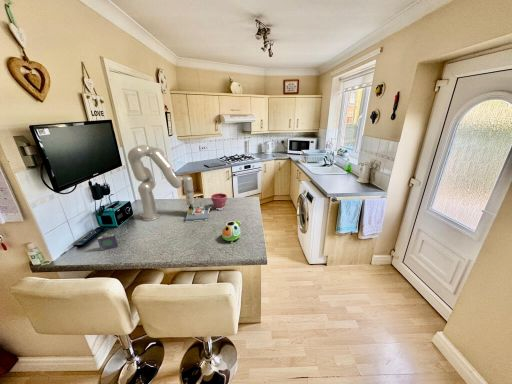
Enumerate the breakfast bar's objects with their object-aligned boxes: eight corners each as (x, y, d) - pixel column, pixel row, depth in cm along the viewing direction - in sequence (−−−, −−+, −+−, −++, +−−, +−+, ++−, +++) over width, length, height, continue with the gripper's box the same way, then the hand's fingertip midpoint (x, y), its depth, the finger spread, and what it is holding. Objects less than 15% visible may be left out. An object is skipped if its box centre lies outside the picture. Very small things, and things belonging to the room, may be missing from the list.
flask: (100, 251, 127) (95, 236, 123) (101, 248, 129) (97, 234, 125) (117, 247, 131) (113, 233, 127) (118, 245, 133) (114, 231, 129)
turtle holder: (247, 233, 147) (247, 218, 143) (233, 245, 132) (232, 230, 128) (233, 228, 153) (233, 214, 149) (218, 240, 138) (217, 225, 134)
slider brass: (188, 214, 170) (187, 210, 169) (189, 212, 173) (188, 208, 171) (192, 214, 170) (191, 209, 169) (192, 212, 173) (192, 208, 172)
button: (195, 213, 169) (195, 211, 168) (196, 210, 173) (196, 208, 172) (200, 212, 169) (200, 210, 169) (201, 210, 173) (201, 208, 173)
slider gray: (205, 210, 178) (204, 205, 177) (205, 208, 181) (205, 204, 180) (208, 209, 179) (208, 205, 177) (208, 208, 181) (208, 204, 180)
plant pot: (229, 206, 193) (228, 193, 189) (224, 212, 181) (223, 199, 176) (215, 204, 196) (214, 192, 192) (209, 210, 184) (208, 197, 179)
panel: (185, 221, 163) (184, 217, 162) (191, 209, 186) (190, 205, 184) (207, 220, 165) (207, 215, 164) (210, 208, 188) (210, 204, 186)
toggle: (199, 206, 182) (199, 201, 182) (200, 206, 183) (199, 201, 184) (201, 206, 182) (201, 201, 182) (201, 206, 183) (201, 201, 184)
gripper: (191, 194, 162) (194, 214, 168) (194, 188, 176) (197, 207, 182) (182, 194, 161) (185, 214, 167) (186, 188, 175) (188, 207, 181)
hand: (191, 210), depth 175 cm, fingers closed
